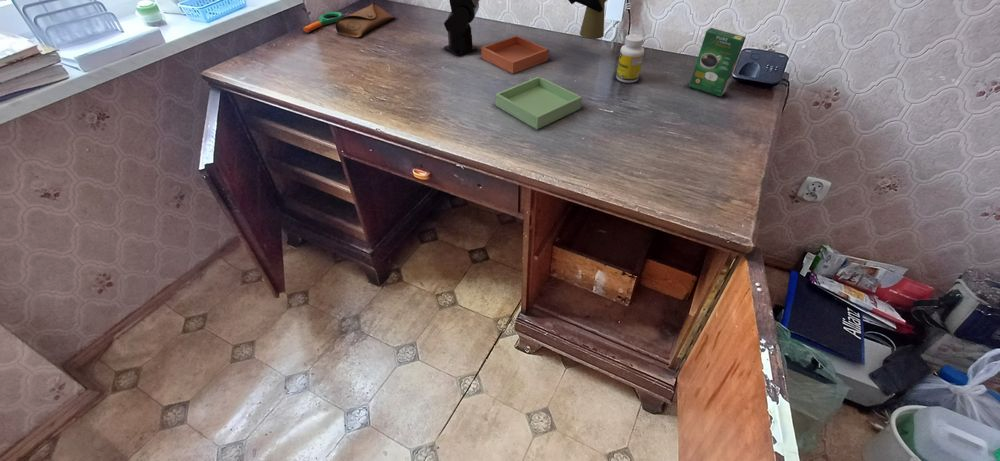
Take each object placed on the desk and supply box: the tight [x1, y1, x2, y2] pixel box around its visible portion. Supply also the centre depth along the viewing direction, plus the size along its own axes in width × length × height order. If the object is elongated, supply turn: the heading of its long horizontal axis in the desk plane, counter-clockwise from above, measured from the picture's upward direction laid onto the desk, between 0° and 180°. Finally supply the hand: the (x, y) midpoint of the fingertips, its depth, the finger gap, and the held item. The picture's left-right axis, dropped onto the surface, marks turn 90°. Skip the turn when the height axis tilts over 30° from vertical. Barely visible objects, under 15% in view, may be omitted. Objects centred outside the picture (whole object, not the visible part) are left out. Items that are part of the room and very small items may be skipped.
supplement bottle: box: [615, 33, 645, 84], centre depth 109 cm, size 5×5×10 cm
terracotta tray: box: [480, 35, 550, 74], centre depth 120 cm, size 12×12×3 cm
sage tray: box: [495, 76, 583, 130], centre depth 101 cm, size 13×13×3 cm
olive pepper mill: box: [579, 0, 608, 40], centre depth 114 cm, size 6×6×11 cm
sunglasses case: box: [335, 2, 396, 38], centre depth 137 cm, size 18×7×7 cm, turn 155°
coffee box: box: [688, 27, 747, 98], centre depth 103 cm, size 8×3×13 cm, turn 50°
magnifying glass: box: [302, 11, 344, 33], centre depth 138 cm, size 15×6×2 cm, turn 158°
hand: (601, 7), depth 113 cm, fingers closed on olive pepper mill, 5 cm apart
